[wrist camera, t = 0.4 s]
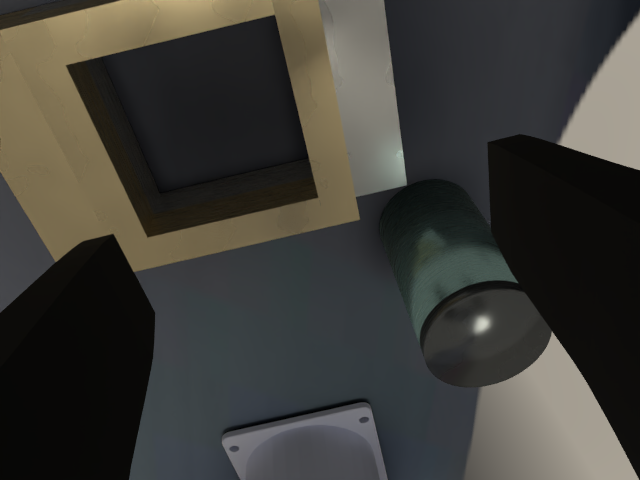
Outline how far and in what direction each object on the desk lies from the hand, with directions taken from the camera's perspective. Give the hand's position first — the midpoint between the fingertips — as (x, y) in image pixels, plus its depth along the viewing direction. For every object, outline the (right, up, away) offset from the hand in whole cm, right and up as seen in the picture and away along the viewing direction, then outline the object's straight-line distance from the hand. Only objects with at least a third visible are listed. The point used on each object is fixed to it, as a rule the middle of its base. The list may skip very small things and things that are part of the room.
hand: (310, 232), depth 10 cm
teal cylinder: (+5, +1, +12) cm, 13 cm away
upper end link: (-4, +5, +8) cm, 10 cm away
